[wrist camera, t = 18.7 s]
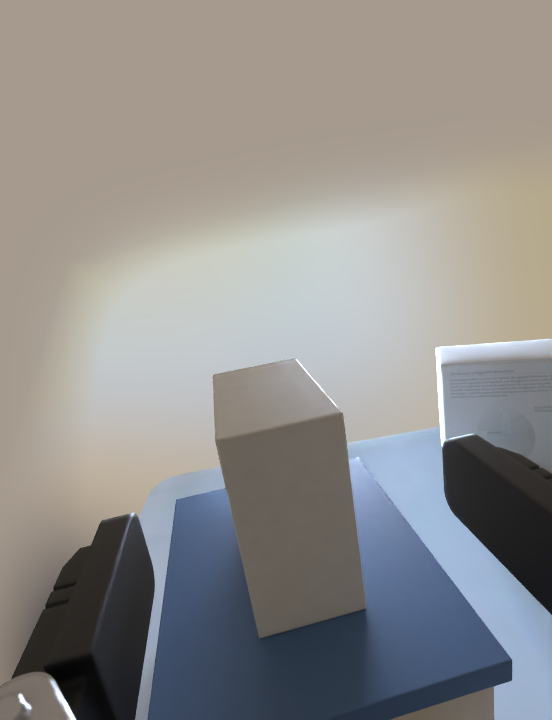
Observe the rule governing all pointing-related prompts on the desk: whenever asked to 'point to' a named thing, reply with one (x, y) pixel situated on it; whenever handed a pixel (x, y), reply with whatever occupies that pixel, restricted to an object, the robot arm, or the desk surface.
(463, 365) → the cosmetics box
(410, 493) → the desk surface
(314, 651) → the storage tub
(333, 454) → the white case
